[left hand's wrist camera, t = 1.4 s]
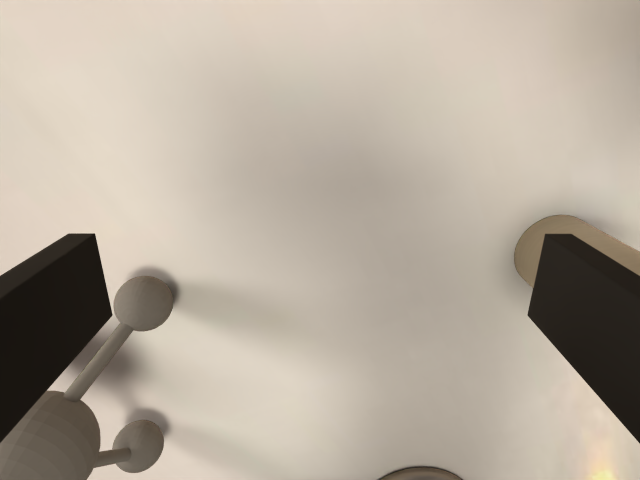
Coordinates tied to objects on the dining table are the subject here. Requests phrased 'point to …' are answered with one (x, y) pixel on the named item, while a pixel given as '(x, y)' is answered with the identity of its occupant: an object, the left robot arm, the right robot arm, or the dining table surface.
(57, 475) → the molecular model
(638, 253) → the jar
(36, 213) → the dining table surface
